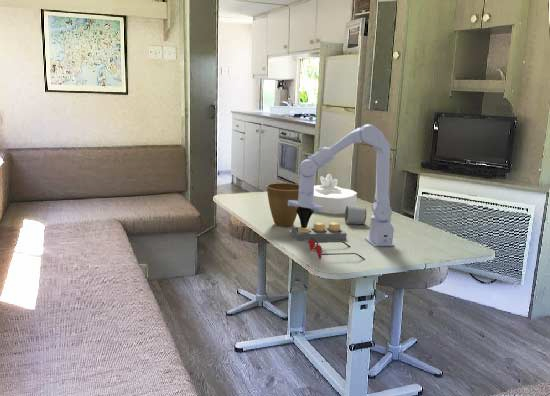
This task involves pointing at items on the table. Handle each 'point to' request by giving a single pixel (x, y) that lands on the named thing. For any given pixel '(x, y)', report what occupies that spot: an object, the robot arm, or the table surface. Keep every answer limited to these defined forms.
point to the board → (318, 234)
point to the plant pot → (282, 203)
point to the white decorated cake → (333, 196)
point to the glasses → (319, 249)
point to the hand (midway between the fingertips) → (304, 227)
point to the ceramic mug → (355, 215)
